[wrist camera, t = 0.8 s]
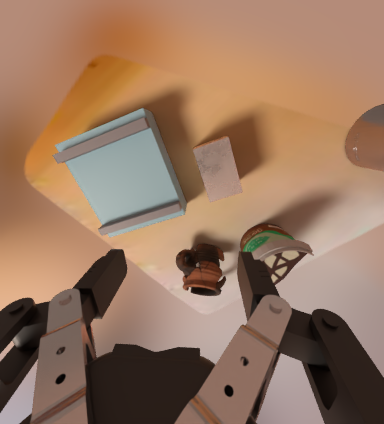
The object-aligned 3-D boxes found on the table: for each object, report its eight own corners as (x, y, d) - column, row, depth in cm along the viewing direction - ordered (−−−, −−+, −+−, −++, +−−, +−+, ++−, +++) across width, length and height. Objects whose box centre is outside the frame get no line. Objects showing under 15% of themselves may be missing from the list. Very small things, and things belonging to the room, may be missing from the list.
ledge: (152, 112, 28) (139, 106, 22) (186, 203, 34) (184, 218, 28) (76, 143, 31) (46, 145, 25) (121, 224, 36) (105, 242, 30)
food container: (260, 205, 34) (282, 232, 24) (285, 221, 35) (316, 252, 26) (222, 252, 38) (229, 290, 29) (245, 265, 39) (260, 305, 30)
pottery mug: (235, 254, 39) (235, 295, 34) (205, 263, 45) (201, 299, 40) (193, 230, 33) (186, 275, 28) (165, 244, 40) (155, 282, 35)
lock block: (223, 136, 29) (228, 136, 24) (235, 182, 32) (242, 192, 27) (193, 147, 30) (192, 149, 25) (208, 191, 33) (210, 202, 28)
